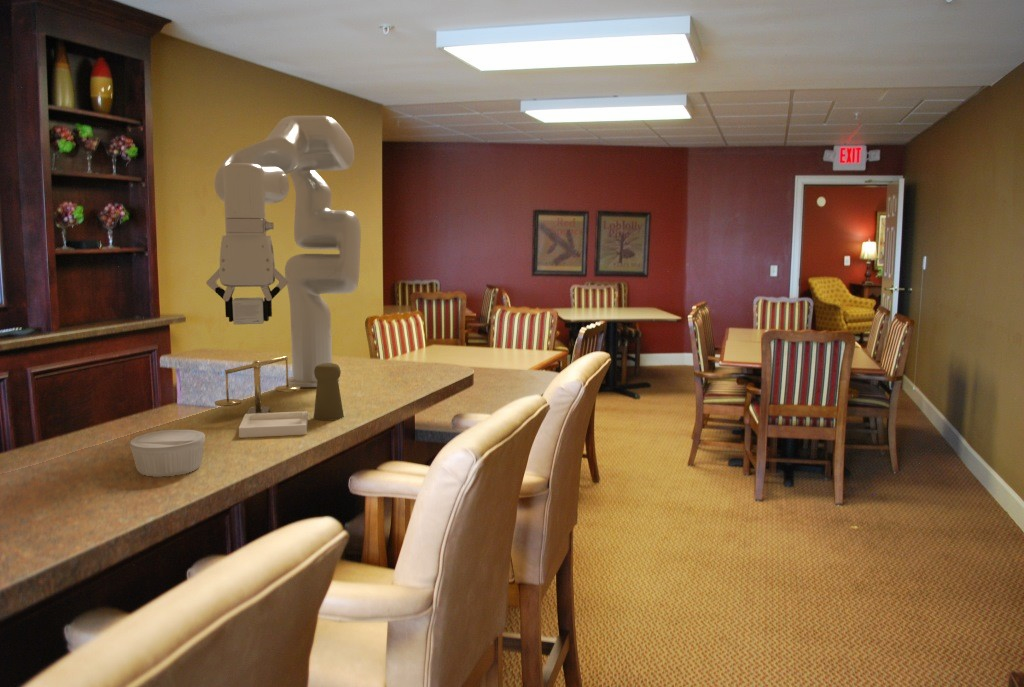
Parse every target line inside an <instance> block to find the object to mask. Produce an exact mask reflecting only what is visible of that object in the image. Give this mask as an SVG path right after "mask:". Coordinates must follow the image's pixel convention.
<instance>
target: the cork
mask: <svg viewBox="0 0 1024 687" xmlns="http://www.w3.org/2000/svg"><path fill="white" fill-rule="evenodd" d="M341 372H342V371H341V367H340V366H339V365H338V364H337V363H333V362H332V363H323V364H319V365H317V366H316V367H315V370H314V374H315V378H316V379H317V387H316V388H315V389H316V391H315V400H314V410H313V419H314V420H317V421H336V420H335V419H337V420H340V418H341V419H343V418H344V417H345V415H344V410H343V404H342V396H341V390H340V383H339V382H338V379H339V380H340V377H341V374H342V373H341ZM342 417H343V418H342Z"/></svg>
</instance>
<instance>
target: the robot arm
mask: <svg viewBox="0 0 1024 687" xmlns="http://www.w3.org/2000/svg"><path fill="white" fill-rule="evenodd" d="M354 160H355V147H354V144H353V141H352V139H351V137H350V136H349V135H348V133H347V132H346V131H345V129H344V128H343V126H341V125H340V123H339V122H337V120H335V119H334V118H333V117H330V116H329V115H324V114H323V115H289V116H286V117H285V116H284V117H283V118H281V119H280V120H279V121H278V122H277V124H276V125H274V127H273V129H272V130H271V131H270V133H269V134H268V135H267V137H266V138H265V139H264V140H262V141H259V142H256V143H253V144H250V145H249V146H246V147H244V148H240V149H239V150H236V151H235V152H233V153H231V154H230V155H228V156H227V157H226V158H225V160H223V162H222V163H221V164H220V166H219V167H218V169H217V171H216V173H215V177H214V190H215V192H216V195H217V197H218V198H219V199H220V200H222V201H223V202H224V221H225V222H224V224H225V235H222V236H221V242H220V249H219V268H217V270H216V271H215V272H214V273H213V274H212V275H211V276H210V277H209V278H208V280H206V285H207V286H208V287H209V288H210V289H212V290H213V291H214V292H215V293H216V295H218V296H219V297H220V298H221V299H222V300H223V301H224V308H225V318H228V322H229V323H233V304H232V300H234V298H233V295H234V293H235V289H236V287H237V288H242V287H243V288H245V287H247V288H250V287H252V288H254V287H260V289H261V292H262V294H263V296H264V297H263V300H264V301H263V317H264V322H269V320H270V318H272V317H273V307H272V305H273V304H272V300H273V299H274V298H275V297H276V296H277V295H278V294H279V293H280V292H281V291H282V290H283V289H284V288H285V287H287V288H286V289H287V292H288V297H289V309H290V310H289V312H290V335H291V336H290V337H291V340H290V341H291V364H292V365H291V367H292V376H290V377H288V383H289V385H295V386H300V388H317V379H316V378H315V374H314V370H315V367H316V366H317V365H319V364H323V363H333V350H332V348H333V347H332V320H331V319H332V317H331V316H332V314H331V309H330V308H329V305H328V304H327V302H326V301H325V299H323V297H322V294H323V295H325V294H328V295H329V294H331V295H332V294H333V295H334V294H336V295H337V294H343V295H344V294H350V293H353V292H355V291H356V290H357V287H358V285H359V279H360V264H361V261H360V260H361V241H362V240H361V239H362V235H361V234H362V230H361V224H360V220H359V217H358V215H357V214H356V213H354V212H353V211H351V210H346V209H332V196H333V195H332V191H331V188H330V186H329V184H328V183H327V182H326V181H325V179H324V178H323V177H321V175H320V174H319V173H318V172H317V171H336V172H337V171H345V170H349V169H350V168H351V167H352V166H353V164H354V162H355V161H354ZM288 174H289V177H290V178H291V181H292V183H293V186H294V190H295V204H294V223H293V236H294V241H295V244H296V246H298V247H300V248H301V249H306V250H323V251H324V250H335V251H336V250H337V251H339V253H299V254H296V255H295V254H294V255H293V256H291V257H289V258H288V259H287V261H286V263H285V265H284V275H283V274H282V273H281V272H280V271H279V270H278V269H277V268H276V264H275V254H274V247H273V242H272V237H271V235H267V232H268V231H270V230H274V222H270V221H267V219H266V204H268V205H269V204H278V203H280V202H283V201H284V200H285V199H286V198H287V196H288V194H289V191H290V182H289V177H288ZM218 280H219V281H220V284H221V285H222V286H224V287H226V288H225V289H224V288H223V287H221V286H220V285H219V284H218V283H217V282H218ZM276 281H278V284H276V286H274V287H273V289H271V288H270V286H271V285H272V284H275V282H276ZM339 382H340V378H339V379H338V383H339Z"/></svg>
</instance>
